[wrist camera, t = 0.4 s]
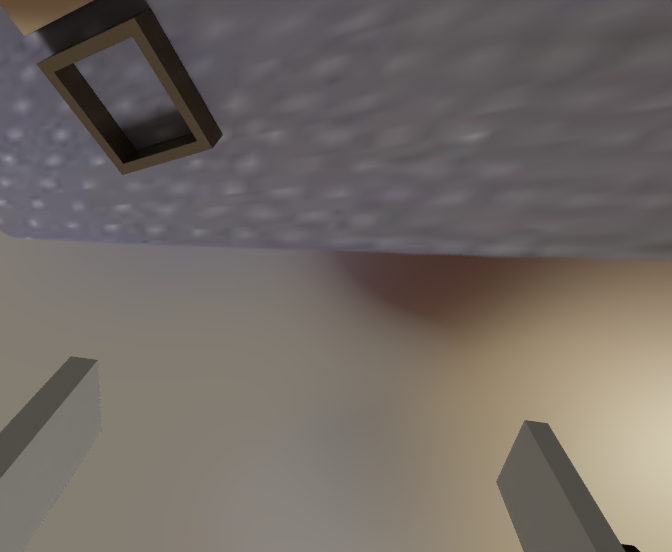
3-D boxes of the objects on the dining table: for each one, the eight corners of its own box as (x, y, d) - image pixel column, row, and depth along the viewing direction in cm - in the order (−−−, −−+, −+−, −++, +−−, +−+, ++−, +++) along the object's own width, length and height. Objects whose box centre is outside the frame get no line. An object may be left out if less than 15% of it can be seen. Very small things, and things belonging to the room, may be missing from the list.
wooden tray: (55, 53, 39) (36, 64, 37) (150, 8, 35) (134, 17, 33) (135, 161, 46) (122, 174, 44) (222, 135, 41) (212, 148, 40)
